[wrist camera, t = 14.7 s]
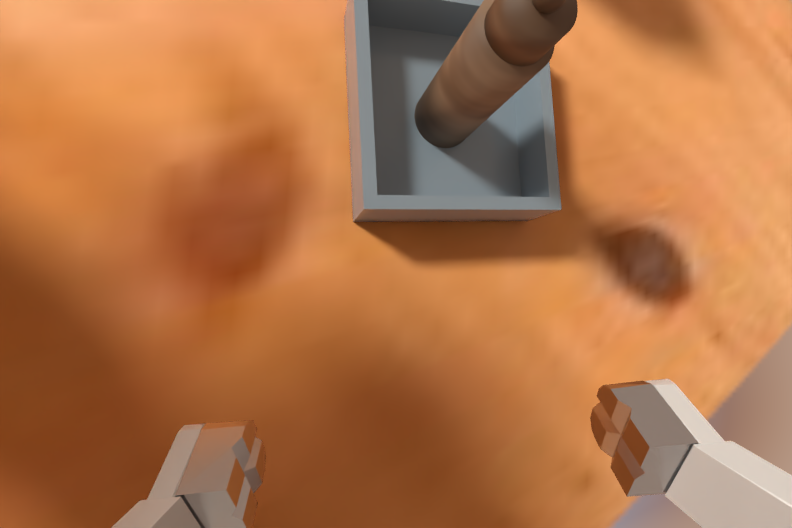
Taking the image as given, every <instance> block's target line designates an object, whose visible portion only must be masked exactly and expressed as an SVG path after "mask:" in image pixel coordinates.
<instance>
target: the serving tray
mask: <svg viewBox="0 0 792 528" xmlns="http://www.w3.org/2000/svg"><path fill="white" fill-rule="evenodd" d="M483 1H484V0H347V6H346V11H345V16H344V31H345V53H346V75H347V97H348V118H349V140H350V162H351V184H352V206H353V222H430V221H528V220H531V219H534V218H537V217H541V216H544V215H547V214H550V213H553V212H556V211H559V210H561V198H560V186H559V174H558V162H557V150H556V138H555V126H554V114H553V102H552V90H551V77H550V65H549V62H548V63H547V65H546V66H545V67H544V68H543V69H542V70H540V71H539V72H538V73H537V74H536V75H535V76H534V77H533V78H532V79H531V80H529V81H528V82H527V83H526V84H525V85H524V86H523V87H522V88H521V89H520V90H518V91H517V92H516V93H515V94H514V95H513V96H512V97H511V98H510V99H509V100H508V101H506V102H505V103H504V104H503V105H502V106H501V107H500V108H499V109H498V110H497V111H495V112H494V113H493V114H492V115H491V116H490V117H489V118H488V119H487V120H486V121H484V122H483V123H482V124H481V125H480V126H479V127H478V128H477V129H476V130H475V131H473V132H472V133H471V134H470V135H469V136H468V137H467V138H466V139H465V140H464V141H462V142H461V143H460V144H459V145H457V146H454V147H451V148H441V147H437V146H434V145H432V144H430V143H429V142H428V141H426V140H425V139H424V138H423V137H422V135H421V134H420V133H419V131H418V129H417V126H416V123H415V118H414V113H415V108H416V105H417V103H418V101H419V99H420V98H421V96H422V95H423V93H424V92H425V90H426V89H427V87H428V86H429V84H430V82H431V81H432V79H433V78H434V76H435V75H436V73H437V72H438V70H439V69H440V67H441V65H442V64H443V62H444V61H445V59H446V58H447V56H448V55H449V53H450V52H451V50H452V48H453V47H454V45H455V44H456V42H457V41H458V39H459V38H460V36H461V35H462V33H463V31H464V30H465V28H466V27H467V25H468V24H469V22H470V21H471V19H472V18H473V16H474V14H475V13H476V11H477V10H478V8H479V7H480V5H481V4H482V2H483Z"/></svg>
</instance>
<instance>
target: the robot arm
mask: <svg viewBox="0 0 792 528" xmlns="http://www.w3.org/2000/svg"><path fill="white" fill-rule="evenodd" d="M597 397H598V399H599V401H600V403H598V404H597V405H596V406H595V407H594V408H593V409H592V413H591V417H590V419H591V427H592V431H593V434H594V437H595V439H596V441H597V443H598V445H599V447H600V449H601V450H603V451H604V452H605V453H607V454H608V455H610V456H611V457H612V462H611V469H612V471H613V472H614V474H615V476H616V478H617V480H618V481H619V483H620V485H621V487H622V489H623V490H624V492H625V494H626V496H641V495H654V494H666V495H665V496H666V497H667V498H668V499H669V500H670V501H672V502H673V503H674V504H675V505H676V506H677V507H679V508H680V509H681V510H682V511H683V512H685V513H686V514H687V515H688V516H689V517H690V518H691V519H693V520H694V521H695V522H696V523H697V524H698V525H700V526H701V527H702V528H792V475H790V474H788V473H787V472H785V471H783V470H781V469H780V468H778V467H776V466H774V465H773V464H771V463H769V462H768V461H766V460H764V459H762V458H760V457H759V456H757V455H755V454H753V453H752V452H750V451H748V450H747V449H745V448H743V447H741V446H740V445H738V444H736V443H734V442H732V441H724V440H723V439H722V438H721V436H720V435H719V434H718V433H717V432H716V431H715V429H714V428H713V427H712V426H711V425H710V424H709V422H708V421H707V420H706V419H705V418H704V417H703V415H702V414H701V413H700V412H699V411H698V410H697V408H696V407H695V406H694V405H693V404H692V403H691V402H690V400H689V399H688V398H687V397H686V396H685V395H684V393H683V392H682V391H681V390H680V389H679V388H678V386H677V385H676V384H675V383H674V382H672V381H671V380H669V379H660V380H651V381H636V382H627V383H618V384H609V385H603V386H602V387H600V388H599V390H598V393H597ZM256 431H257V427H256V425H255V423H254V421H253V420H244V421H230V422H216V423H203V424H191V425H184V426H183V427H182V428H181V429H180V430H179V431H178V433H177V435H176V437H175V439H174V441H173V444H172V446H171V448H170V450H169V452H168V455H167V457H166V459H165V461H164V463H163V465H162V468H161V470H160V472H159V474H158V476H157V479H156V481H155V483H154V485H153V487H152V489H151V492H150V494H149V496H148V498H147V500H140V501H139V502H138V503H137V504H135V505H134V506H133V507H132V508H131V509H130V510H129V511H128V512H127V513H126V514H125V515H124V516H123V517H122V518H121V519H120V520H119V521H118V522H116V523H115V524H114V525H113V526H112V527H111V528H252V527H253V522H254V518H255V514H256V509H257V505H258V502H257V500H256V498H255V496H254V494H253V493H254V492H255V491H256V490H257V489H258V487H259V486H260V485H261V484H262V482H263V477H264V472H265V459H266V455H265V449H264V445H263V442H262V440H260V439H258V438H257V437H255V435H256Z"/></svg>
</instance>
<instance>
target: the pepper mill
mask: <svg viewBox="0 0 792 528" xmlns="http://www.w3.org/2000/svg"><path fill="white" fill-rule="evenodd" d="M576 17H577V0H484V1H483V2H482V4H481V5H480V7H479V8H478V10H477V11H476V13H475V14H474V16H473V18H472V19H471V21H470V22H469V24H468V25H467V27H466V28H465V30H464V31H463V33H462V35H461V36H460V38H459V39H458V41H457V42H456V44H455V45H454V47H453V48H452V50H451V52H450V53H449V55H448V56H447V58H446V59H445V61H444V62H443V64H442V65H441V67H440V69H439V70H438V72H437V73H436V75H435V76H434V78H433V79H432V81H431V82H430V84H429V86H428V87H427V89H426V90H425V92H424V93H423V95H422V96H421V98H420V99H419V101H418V103H417V105H416V108H415V113H414V118H415V123H416V126H417V129H418V131H419V133H420V134H421V135H422V137H423V138H424V139H425V140H426V141H428V142H429V143H430V144H432V145H434V146H437V147H441V148H451V147H454V146H457V145H459V144H460V143H461V142H462V141H464V140H465V139H466V138H467V137H468V136H469V135H470V134H471V133H472V132H473V131H475V130H476V129H477V128H478V127H479V126H480V125H481V124H482V123H483V122H484V121H486V120H487V119H488V118H489V117H490V116H491V115H492V114H493V113H494V112H495V111H497V110H498V109H499V108H500V107H501V106H502V105H503V104H504V103H505V102H506V101H508V100H509V99H510V98H511V97H512V96H513V95H514V94H515V93H516V92H517V91H518V90H520V89H521V88H522V87H523V86H524V85H525V84H526V83H527V82H528V81H529V80H531V79H532V78H533V77H534V76H535V75H536V74H537V73H538V72H539V71H540V70H542V69H543V68H544V67H545V66H546V65H547V63H548V62H549V61H550V59H551V57H552V54H553V51H554V45H555V44H556V43H557V42H558V41H559V40H560V39H561V38H562V37H563V36H565V35H566V34H567V33H568V32H569V31H570V30H571V28H572V27H573V25H574V23H575V21H576Z"/></svg>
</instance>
